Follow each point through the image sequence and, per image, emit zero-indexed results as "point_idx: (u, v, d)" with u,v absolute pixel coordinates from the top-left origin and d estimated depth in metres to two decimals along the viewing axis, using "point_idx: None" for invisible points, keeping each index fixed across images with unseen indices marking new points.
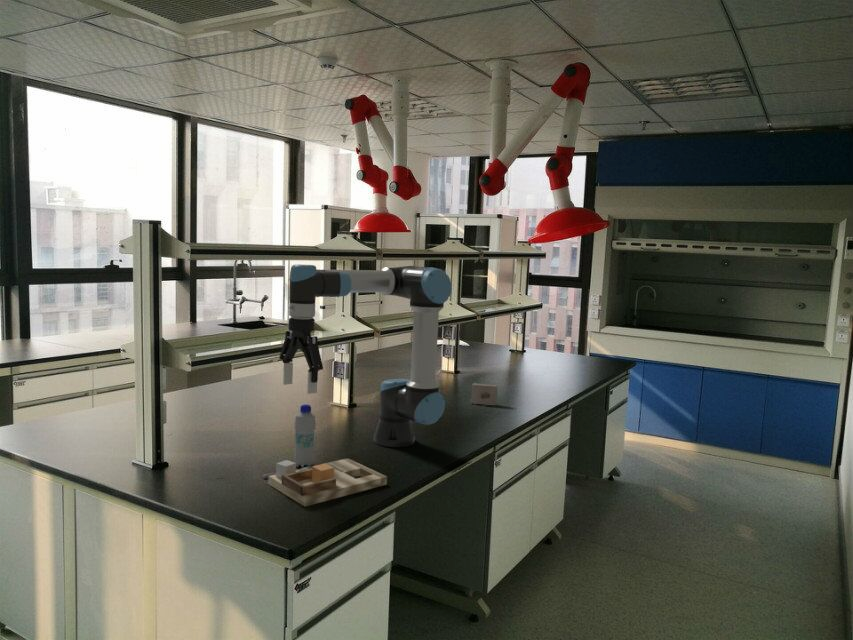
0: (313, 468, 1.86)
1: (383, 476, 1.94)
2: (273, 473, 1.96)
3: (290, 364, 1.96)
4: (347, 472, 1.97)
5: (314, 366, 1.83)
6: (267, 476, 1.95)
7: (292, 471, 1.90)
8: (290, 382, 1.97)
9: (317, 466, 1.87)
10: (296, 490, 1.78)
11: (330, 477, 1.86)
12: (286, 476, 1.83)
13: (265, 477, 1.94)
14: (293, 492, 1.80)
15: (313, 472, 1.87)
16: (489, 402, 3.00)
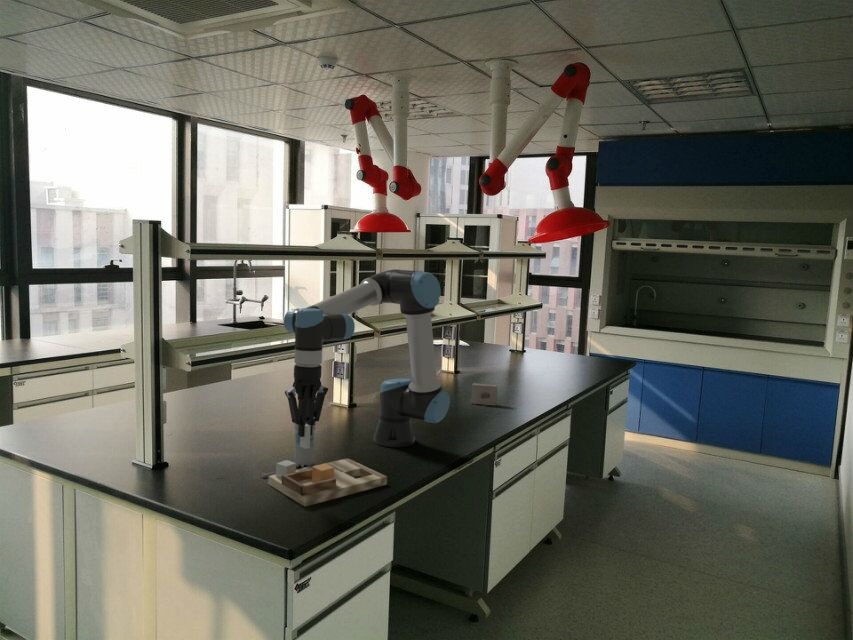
0: (313, 468, 1.86)
1: (383, 476, 1.94)
2: (272, 472, 1.97)
3: None
4: (347, 472, 1.97)
5: None
6: (266, 475, 1.95)
7: (292, 471, 1.90)
8: None
9: (317, 466, 1.87)
10: (296, 490, 1.78)
11: (330, 477, 1.86)
12: (286, 476, 1.83)
13: (264, 476, 1.95)
14: (293, 492, 1.80)
15: (313, 472, 1.87)
16: (489, 402, 3.00)
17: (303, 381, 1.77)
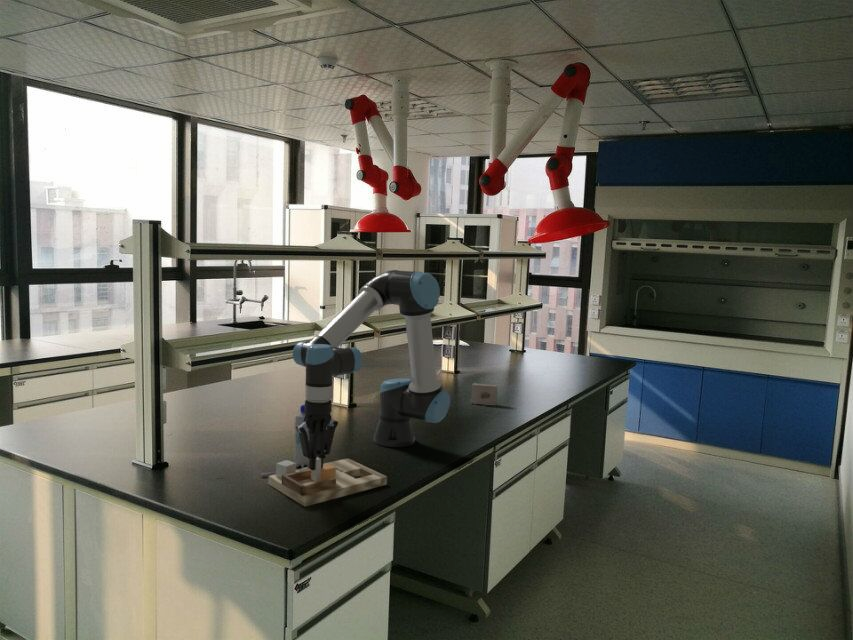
0: None
1: (383, 476, 1.94)
2: (272, 472, 1.97)
3: None
4: (347, 472, 1.97)
5: None
6: (265, 475, 1.96)
7: (292, 471, 1.90)
8: None
9: None
10: (296, 490, 1.78)
11: (332, 476, 1.86)
12: (286, 476, 1.83)
13: (263, 476, 1.95)
14: (293, 492, 1.80)
15: None
16: (489, 402, 3.00)
17: (314, 416, 1.81)
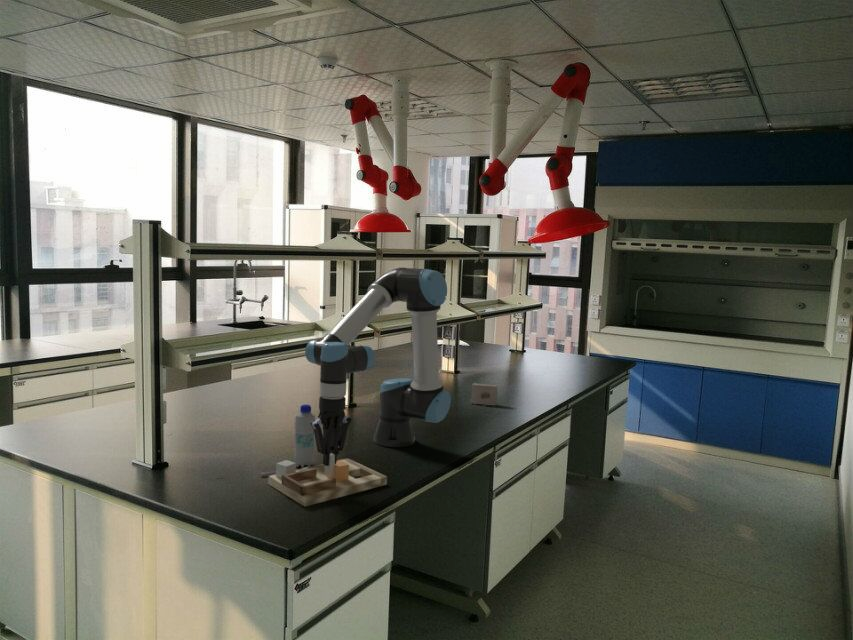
0: None
1: (383, 476, 1.94)
2: (272, 472, 1.97)
3: None
4: None
5: None
6: (265, 474, 1.96)
7: (292, 471, 1.90)
8: None
9: None
10: (296, 490, 1.78)
11: (345, 473, 1.90)
12: (286, 476, 1.83)
13: (263, 475, 1.96)
14: (293, 492, 1.80)
15: None
16: (489, 402, 3.00)
17: (328, 412, 1.84)
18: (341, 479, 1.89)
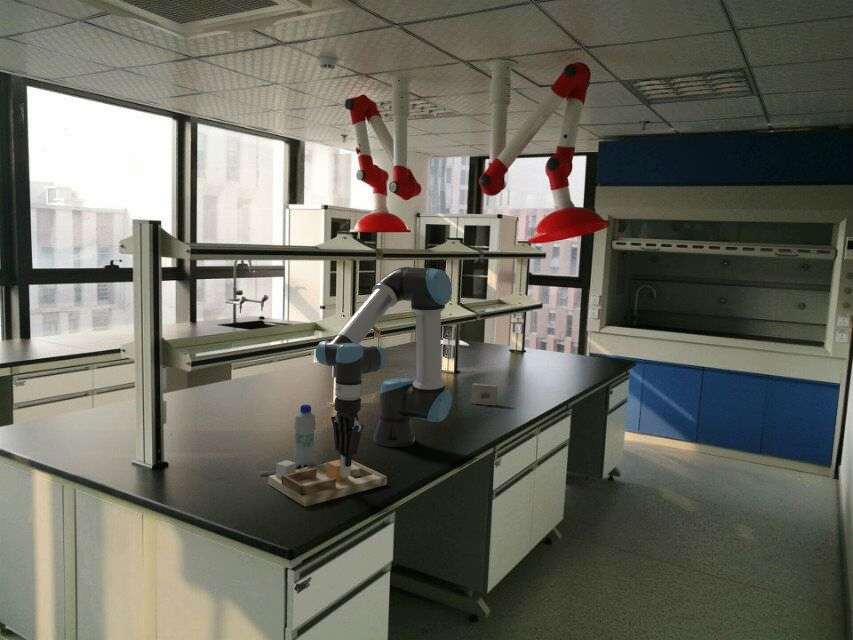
0: (328, 464, 1.91)
1: (383, 476, 1.94)
2: (271, 471, 1.98)
3: None
4: None
5: (349, 452, 1.85)
6: (264, 473, 1.97)
7: (292, 471, 1.90)
8: None
9: (332, 462, 1.91)
10: (296, 490, 1.78)
11: None
12: (286, 476, 1.83)
13: (262, 474, 1.97)
14: (293, 492, 1.80)
15: (328, 467, 1.91)
16: (489, 402, 3.00)
17: None
18: (341, 478, 1.89)
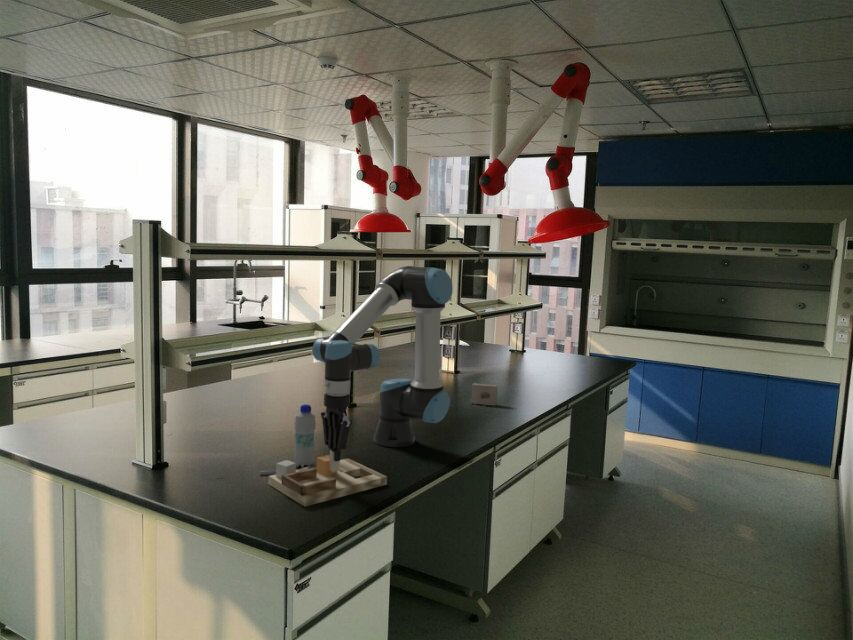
0: (317, 459, 1.94)
1: (383, 476, 1.94)
2: (271, 471, 1.98)
3: None
4: (347, 472, 1.97)
5: (338, 447, 1.89)
6: (264, 473, 1.97)
7: (292, 471, 1.90)
8: None
9: (321, 457, 1.95)
10: (296, 490, 1.78)
11: None
12: (286, 476, 1.83)
13: (262, 473, 1.97)
14: (293, 492, 1.80)
15: (317, 462, 1.95)
16: (489, 402, 3.00)
17: None
18: (330, 473, 1.93)
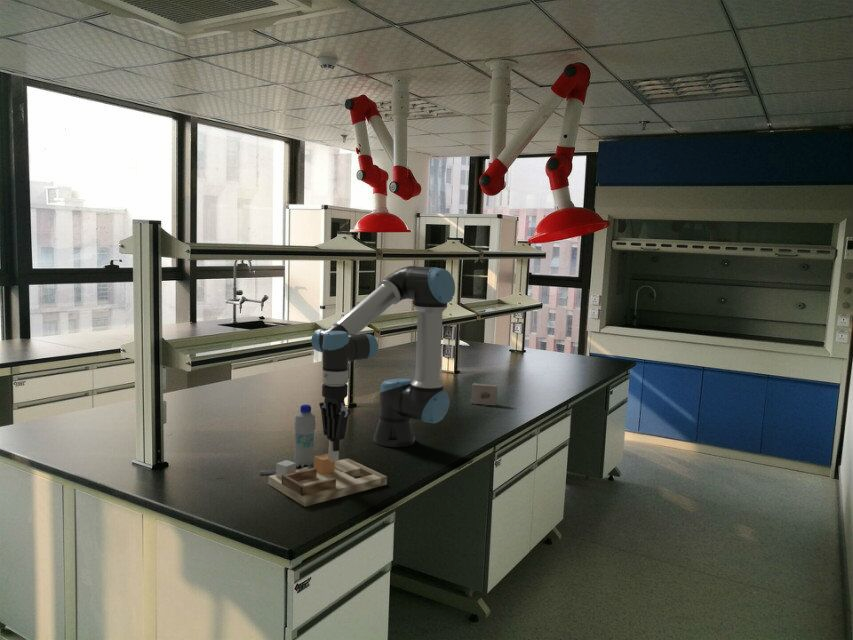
0: (315, 458, 1.95)
1: (383, 476, 1.94)
2: (271, 471, 1.98)
3: None
4: (347, 472, 1.97)
5: (337, 437, 1.90)
6: (264, 472, 1.98)
7: (292, 471, 1.90)
8: None
9: (319, 456, 1.96)
10: (296, 490, 1.78)
11: (331, 466, 1.95)
12: (286, 476, 1.83)
13: (261, 473, 1.97)
14: (293, 492, 1.80)
15: (314, 461, 1.96)
16: (489, 402, 3.00)
17: None
18: (327, 471, 1.94)
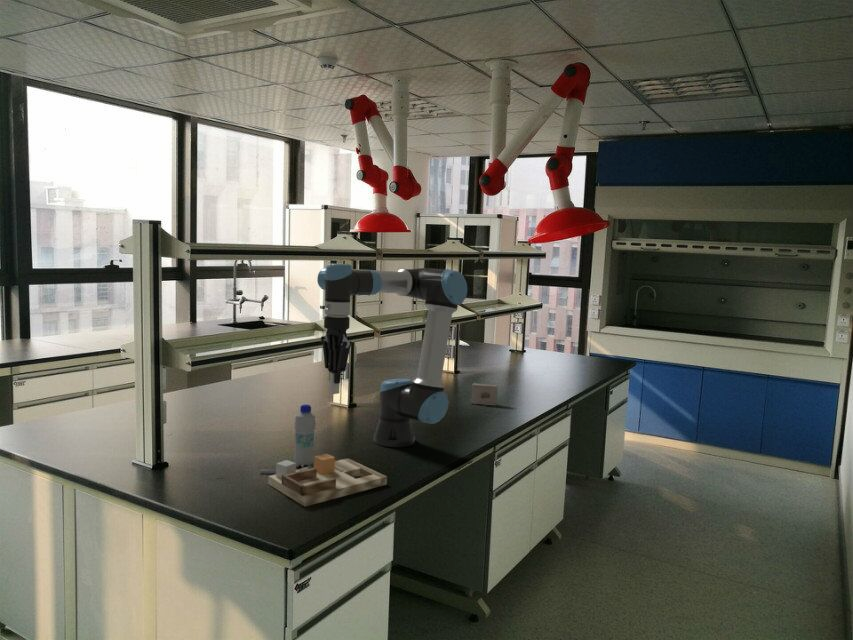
0: (315, 458, 1.95)
1: (383, 476, 1.94)
2: (271, 470, 1.99)
3: None
4: (347, 472, 1.97)
5: (338, 368, 1.91)
6: (264, 471, 1.98)
7: (292, 471, 1.90)
8: None
9: (319, 456, 1.96)
10: (296, 490, 1.78)
11: (331, 466, 1.95)
12: (286, 476, 1.83)
13: (262, 472, 1.98)
14: (293, 492, 1.80)
15: (314, 461, 1.96)
16: (489, 402, 3.00)
17: None
18: (327, 471, 1.94)
